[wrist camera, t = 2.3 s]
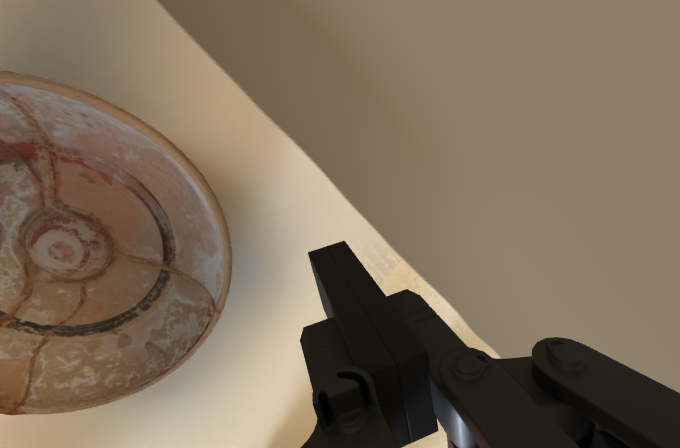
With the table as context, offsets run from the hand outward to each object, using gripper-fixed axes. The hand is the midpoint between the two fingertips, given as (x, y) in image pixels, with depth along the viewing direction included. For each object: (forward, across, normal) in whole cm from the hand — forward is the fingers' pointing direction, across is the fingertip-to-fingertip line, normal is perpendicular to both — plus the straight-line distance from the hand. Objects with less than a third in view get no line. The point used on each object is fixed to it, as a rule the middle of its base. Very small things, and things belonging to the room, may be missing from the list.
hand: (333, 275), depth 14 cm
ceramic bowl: (+17, -17, 0) cm, 23 cm away
